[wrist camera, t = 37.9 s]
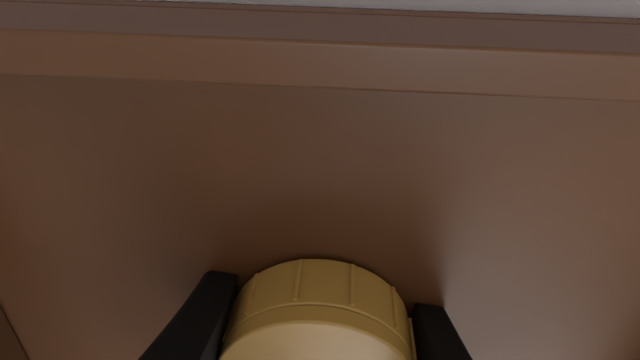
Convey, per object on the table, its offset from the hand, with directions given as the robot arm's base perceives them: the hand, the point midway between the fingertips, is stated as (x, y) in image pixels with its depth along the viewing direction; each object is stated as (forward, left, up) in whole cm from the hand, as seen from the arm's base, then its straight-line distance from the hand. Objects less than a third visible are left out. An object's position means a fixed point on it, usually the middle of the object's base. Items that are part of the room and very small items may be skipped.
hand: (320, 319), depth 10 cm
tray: (0, 0, 0) cm, 0 cm away
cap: (0, 0, +1) cm, 1 cm away
